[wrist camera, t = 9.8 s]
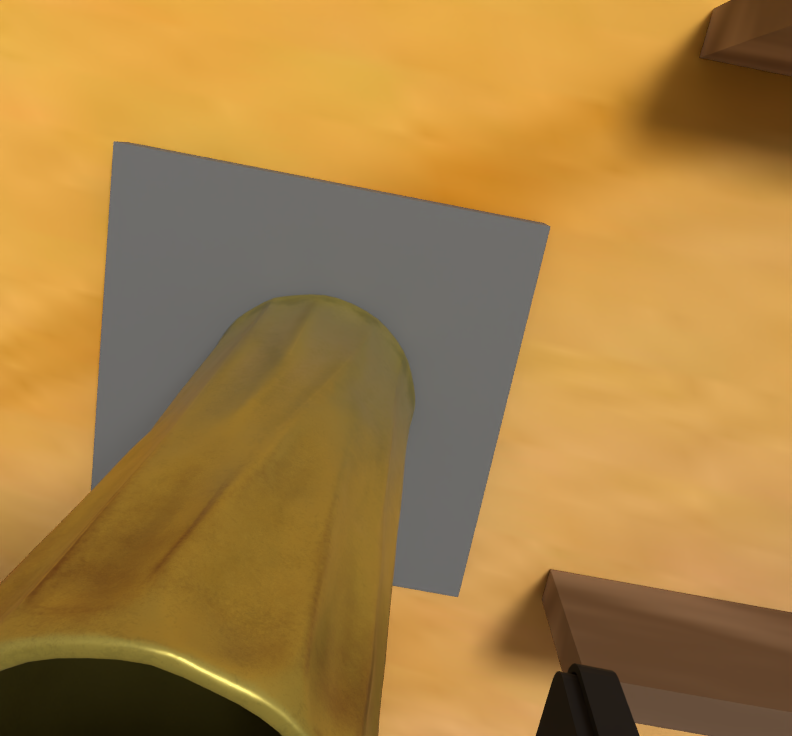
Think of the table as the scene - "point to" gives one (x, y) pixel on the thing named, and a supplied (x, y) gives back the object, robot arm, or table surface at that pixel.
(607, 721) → the robot arm
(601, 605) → the open wooden frame
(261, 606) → the vase
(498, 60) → the table surface
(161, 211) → the rubber mat
